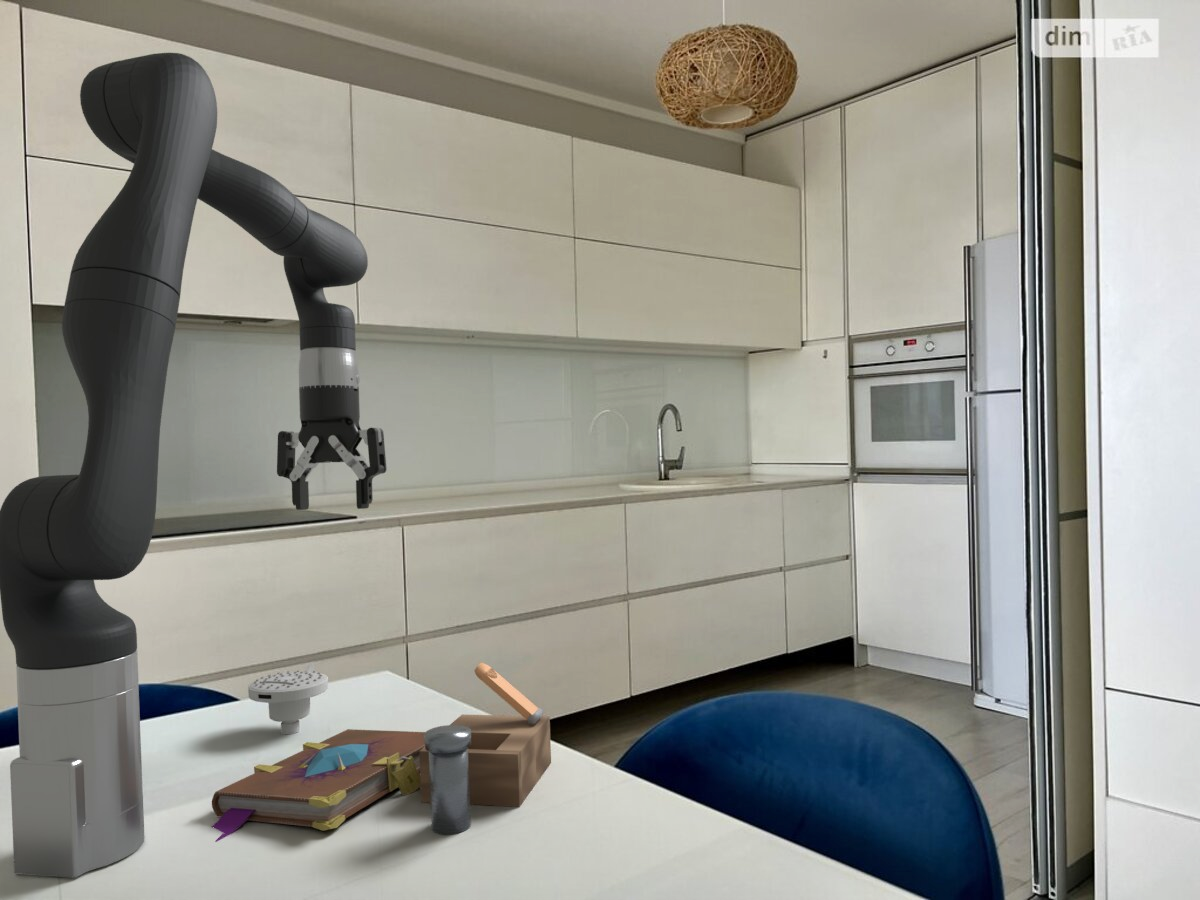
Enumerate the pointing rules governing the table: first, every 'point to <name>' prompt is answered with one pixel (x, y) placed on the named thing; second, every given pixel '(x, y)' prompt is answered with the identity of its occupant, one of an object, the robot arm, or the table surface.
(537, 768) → the block
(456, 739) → the pin
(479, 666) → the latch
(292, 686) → the showerhead
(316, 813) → the book
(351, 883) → the table surface
